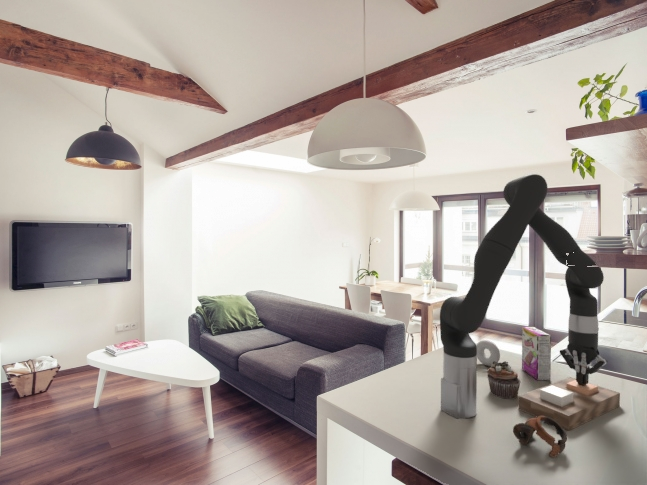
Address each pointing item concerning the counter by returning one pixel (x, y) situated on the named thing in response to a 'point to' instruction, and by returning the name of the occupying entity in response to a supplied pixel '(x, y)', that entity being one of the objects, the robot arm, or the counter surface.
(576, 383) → the terracotta key
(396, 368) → the counter surface
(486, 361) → the donut
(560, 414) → the key panel
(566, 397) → the white rectangular block
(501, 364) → the cupcake
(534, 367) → the candy bar box
